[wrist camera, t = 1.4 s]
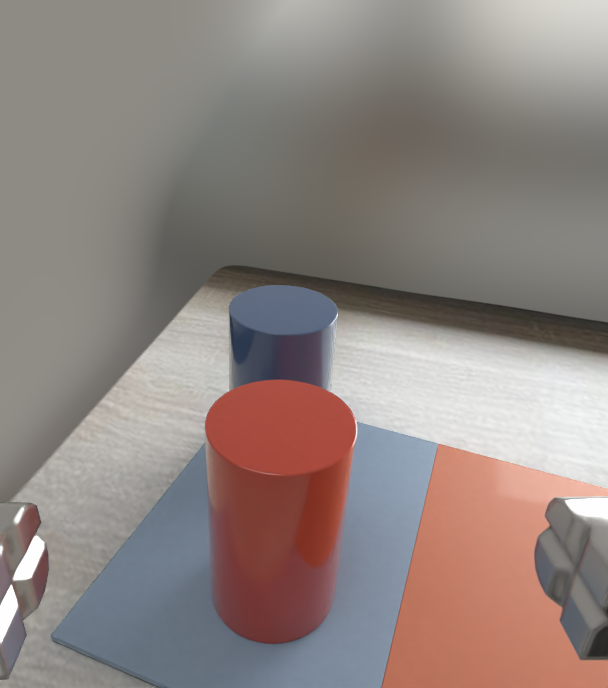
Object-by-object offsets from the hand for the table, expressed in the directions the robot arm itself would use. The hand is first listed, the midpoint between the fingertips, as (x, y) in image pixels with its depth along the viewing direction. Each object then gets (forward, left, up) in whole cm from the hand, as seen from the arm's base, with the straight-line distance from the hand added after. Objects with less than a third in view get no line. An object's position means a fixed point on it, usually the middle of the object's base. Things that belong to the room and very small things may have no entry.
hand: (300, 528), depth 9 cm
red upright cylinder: (-4, +10, -17) cm, 20 cm away
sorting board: (+1, +14, -17) cm, 22 cm away
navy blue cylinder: (-8, +20, -17) cm, 27 cm away
